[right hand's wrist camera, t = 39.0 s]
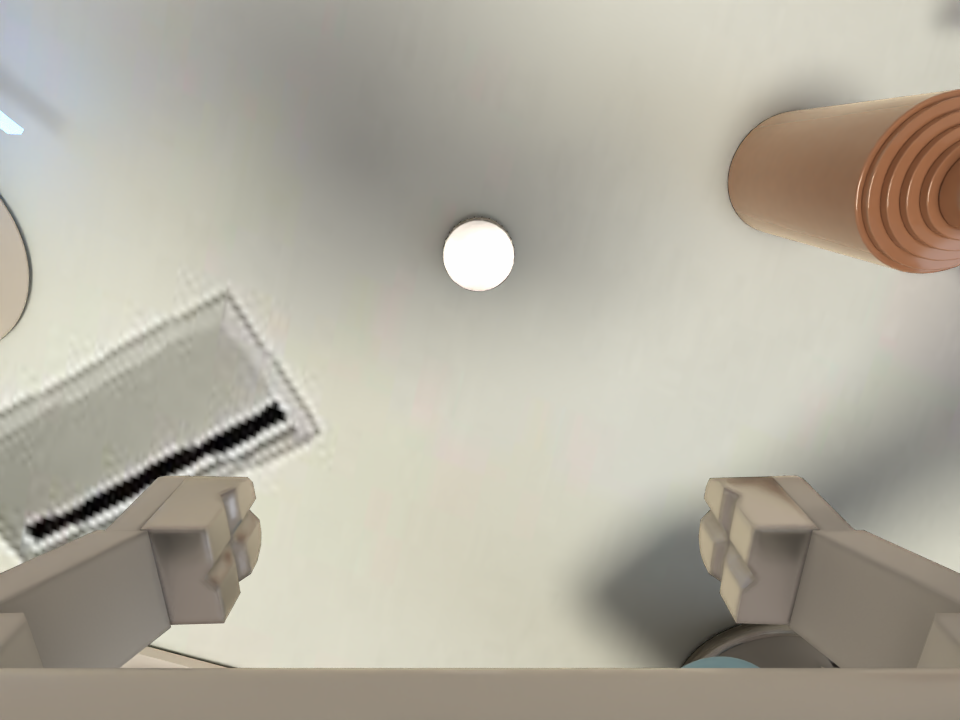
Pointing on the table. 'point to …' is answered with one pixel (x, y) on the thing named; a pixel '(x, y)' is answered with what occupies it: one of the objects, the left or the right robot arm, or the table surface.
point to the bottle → (859, 180)
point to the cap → (478, 254)
